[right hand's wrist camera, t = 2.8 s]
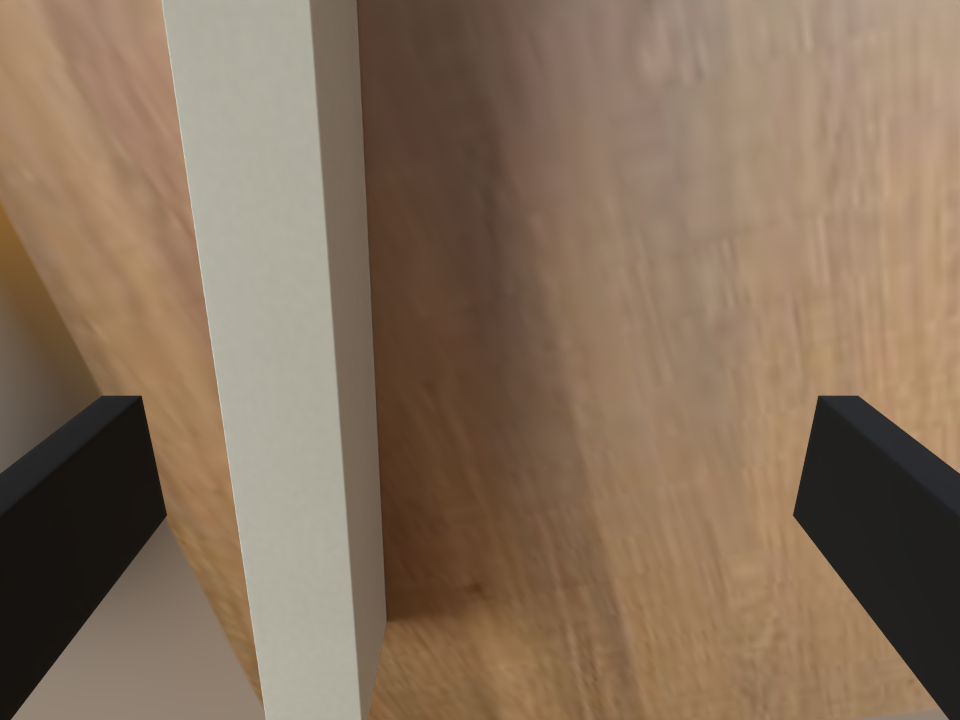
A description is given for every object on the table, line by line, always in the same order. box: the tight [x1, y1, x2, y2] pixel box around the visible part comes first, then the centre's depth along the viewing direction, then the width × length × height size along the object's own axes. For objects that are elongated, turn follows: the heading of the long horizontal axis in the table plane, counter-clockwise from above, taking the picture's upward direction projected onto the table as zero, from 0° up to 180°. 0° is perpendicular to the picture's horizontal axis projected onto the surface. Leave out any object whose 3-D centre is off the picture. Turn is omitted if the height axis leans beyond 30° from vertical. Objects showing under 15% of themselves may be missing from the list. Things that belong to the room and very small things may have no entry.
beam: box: [162, 0, 387, 720], centre depth 24 cm, size 52×4×7 cm, turn 179°
